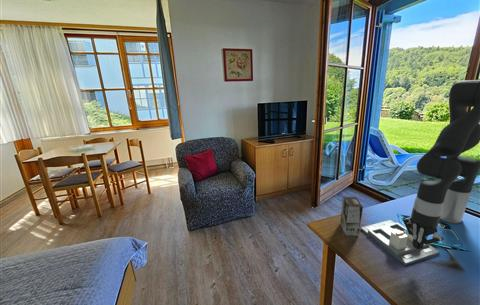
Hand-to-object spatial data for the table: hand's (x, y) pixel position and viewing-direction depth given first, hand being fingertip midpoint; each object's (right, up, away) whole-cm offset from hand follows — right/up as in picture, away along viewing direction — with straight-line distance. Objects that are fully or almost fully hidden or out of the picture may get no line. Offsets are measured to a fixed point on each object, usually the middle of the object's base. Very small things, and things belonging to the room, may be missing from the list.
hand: (416, 247), depth 78 cm
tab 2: (+8, -2, +11) cm, 14 cm away
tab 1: (-1, -4, +9) cm, 9 cm away
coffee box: (-14, -2, +23) cm, 27 cm away
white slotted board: (+3, -3, +14) cm, 14 cm away
